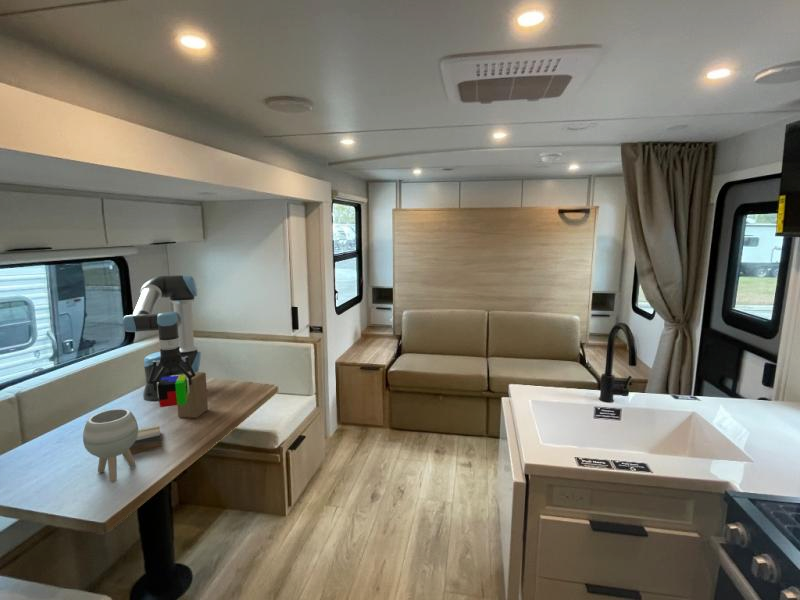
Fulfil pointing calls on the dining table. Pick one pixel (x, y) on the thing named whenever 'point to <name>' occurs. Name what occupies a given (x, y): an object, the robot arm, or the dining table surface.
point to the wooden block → (195, 397)
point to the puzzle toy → (173, 391)
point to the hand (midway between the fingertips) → (173, 394)
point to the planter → (111, 438)
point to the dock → (147, 440)
